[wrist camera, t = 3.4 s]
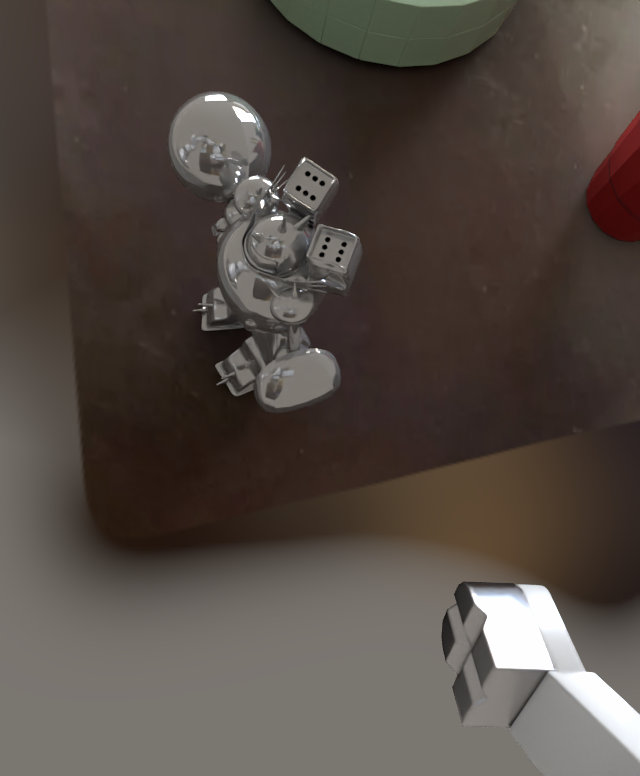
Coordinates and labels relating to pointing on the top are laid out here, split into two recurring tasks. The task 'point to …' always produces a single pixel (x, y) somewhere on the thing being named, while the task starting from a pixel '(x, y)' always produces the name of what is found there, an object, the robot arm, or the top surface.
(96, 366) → the top surface
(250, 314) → the robot toy
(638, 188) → the plastic cup
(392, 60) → the bowl
